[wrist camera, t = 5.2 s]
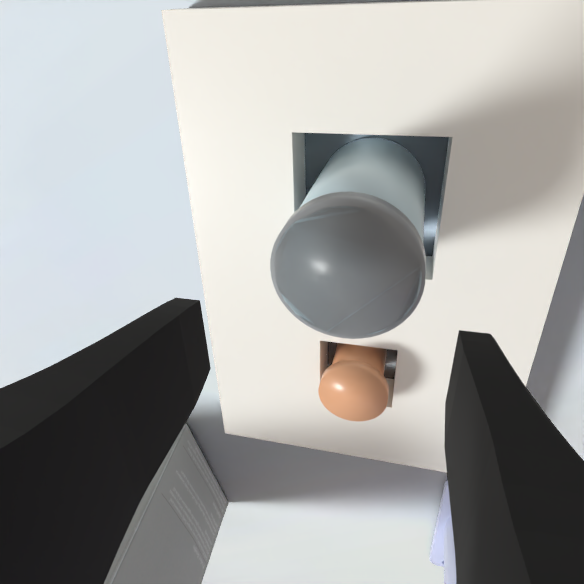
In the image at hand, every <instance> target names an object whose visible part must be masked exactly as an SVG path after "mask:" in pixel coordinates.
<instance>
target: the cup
mask: <svg viewBox="0 0 584 584" xmlns="http://www.w3.org/2000/svg"><path fill="white" fill-rule="evenodd" d="M424 209H425V179H424V175H423V172H422V169H421V167H420V165H419V163H418V161H417V160H416V159H415V157H414V156H413V155H412V154H411V153H410V152H409V151H408V150H407V149H405V148H404V147H403V146H401V145H399V144H397V143H396V142H393V141H390V140H387V139H383V138H363V139H358V140H355V141H352V142H350V143H348V144H346V145H344V146H343V147H341V148H340V149H339V150H337V151H336V152H335V153H334V154H333V155H332V157H331V158H330V159H329V161H328V162H327V164H326V165H325V167H324V168H323V170H322V172H321V173H320V175H319V177H318V178H317V180H316V181H315V183H314V185H313V186H312V188H311V190H310V191H309V193H308V195H307V196H306V198H305V199H304V201H303V203H302V204H301V206H300V208H299V209H297V210H296V211H295V212H294V214H293V215H292V216H291V217H290V218H289V220H288V221H287V222H286V224H285V225H284V227H283V229H282V230H281V232H280V233H279V235H278V237H277V239H276V241H275V243H274V246H273V249H272V253H271V259H270V271H271V278H272V282H273V285H274V288H275V290H276V292H277V295H278V296H279V298H280V300H281V301H282V303H283V304H284V305H285V307H286V308H287V309H288V310H289V311H290V312H291V313H292V314H293V315H294V316H295V317H296V318H297V319H298V320H300V321H301V322H302V323H304V324H305V325H307V326H308V327H310V328H312V329H314V330H316V331H319V332H321V333H324V334H327V335H330V336H334V337H339V338H348V339H362V338H369V337H373V336H377V335H381V334H383V333H386V332H388V331H390V330H392V329H394V328H396V327H397V326H399V325H400V324H401V323H403V322H404V321H405V320H406V319H407V318H408V317H409V316H410V315H411V314H412V313H413V311H414V310H415V309H416V307H417V305H418V304H419V302H420V300H421V297H422V294H423V291H424V286H425V276H426V256H425V249H424V245H423V233H424Z"/></svg>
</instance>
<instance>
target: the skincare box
mask: <svg viewBox="0 0 584 584" xmlns="http://www.w3.org/2000/svg"><path fill="white" fill-rule="evenodd" d="M227 506H228V501H227V499H226V497H225V495H224V493H223V491H222V490H221V488H220V486H219V484H218V482H217V480H216V478H215V476H214V474H213V473H212V471H211V469H210V467H209V465H208V463H207V461H206V459H205V458H204V456H203V454H202V452H201V450H200V448H199V446H198V444H197V442H196V441H195V439H194V437H193V435H192V433H191V431H190V429H189V427H188V425H187V424H185V425H184V426H183V428H182V430H181V432H180V433H179V435H178V437H177V438H176V440H175V442H174V444H173V445H172V447H171V449H170V450H169V452H168V454H167V455H166V457H165V459H164V461H163V462H162V464H161V466H160V467H159V469H158V471H157V473H156V474H155V476H154V478H153V479H152V481H151V483H150V485H149V486H148V488H147V490H146V492H145V494H144V496H143V498H142V499H141V501H140V503H139V505H138V507H137V509H136V512H135V514H134V516H133V518H132V520H131V523H130V525H129V527H128V529H127V531H126V534H125V536H124V538H123V540H122V542H121V544H120V547H119V549H118V551H117V554H116V556H115V558H114V561H113V563H112V565H111V568H110V570H109V573H108V575H107V577H106V580H105V582H104V584H201V582H202V579H203V576H204V573H205V570H206V567H207V565H208V562H209V559H210V556H211V552H212V549H213V546H214V543H215V540H216V537H217V535H218V531H219V528H220V525H221V522H222V520H223V517H224V514H225V511H226V508H227Z"/></svg>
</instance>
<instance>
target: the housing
mask: <svg viewBox="0 0 584 584" xmlns="http://www.w3.org/2000/svg"><path fill="white" fill-rule="evenodd" d="M161 11H162V17H163V24H164V31H165V37H166V44H167V50H168V57H169V64H170V70H171V77H172V84H173V90H174V97H175V104H176V110H177V117H178V124H179V130H180V137H181V144H182V150H183V157H184V164H185V170H186V177H187V184H188V190H189V197H190V204H191V210H192V217H193V224H194V230H195V237H196V244H197V250H198V257H199V264H200V270H201V277H202V284H203V290H204V297H205V304H206V310H207V317H208V324H209V330H210V337H211V344H212V350H213V357H214V364H215V370H216V377H217V384H218V390H219V397H220V404H221V410H222V417H223V424H224V430H225V433H226V434H232V435H238V436H243V437H249V438H255V439H260V440H266V441H271V442H277V443H283V444H288V445H294V446H300V447H305V448H311V449H316V450H322V451H328V452H333V453H339V454H345V455H350V456H356V457H361V458H367V459H373V460H378V461H384V462H390V463H395V464H401V465H406V466H412V467H418V468H423V469H429V470H435V471H440V472H446V473H447V468H446V458H445V447H444V444H445V402H446V397H447V391H448V386H449V381H450V375H451V370H452V365H453V359H454V354H455V349H456V343H457V338H458V333H459V330H462V331H471V332H480V333H489V334H491V335H492V336H493V337H494V339H495V340H496V342H497V343H498V345H499V347H500V348H501V350H502V351H503V353H504V355H505V356H506V358H507V359H508V361H509V363H510V364H511V366H512V367H513V369H514V370H515V372H516V373H517V375H518V376H519V378H520V379H521V381H522V382H523V384H524V385H525V387H526V384H527V380H528V377H529V374H530V370H531V367H532V364H533V360H534V357H535V354H536V351H537V347H538V344H539V341H540V337H541V334H542V331H543V327H544V324H545V321H546V317H547V314H548V311H549V307H550V304H551V301H552V297H553V294H554V291H555V287H556V284H557V281H558V277H559V274H560V271H561V267H562V264H563V261H564V257H565V254H566V251H567V248H568V244H569V241H570V238H571V234H572V231H573V228H574V224H575V221H576V218H577V214H578V211H579V208H580V204H581V201H582V198H583V194H584V0H434V1H402V2H370V3H339V4H307V5H275V6H243V7H212V8H184V9H171V10H161ZM305 133H331V134H366V135H400V136H435V137H449V140H448V148H447V155H446V162H445V169H444V176H443V184H442V191H441V198H440V205H439V213H438V220H437V227H436V234H435V242H434V249H433V256H426V276H425V286H424V291H423V294H422V297H421V300H420V302H419V304H418V305H417V307H416V309H415V310H414V311H413V313H412V314H411V315H410V316H409V317H408V318H407V319H406V320H405V321H404V322H403V323H401V324H400V325H399V326H397V327H396V328H394V329H392V330H390V331H388V332H386V333H383V334H381V335H377V336H373V337H369V338H362V339H348V338H339V337H334V336H330V335H327V334H324V333H321V332H319V331H316V330H314V329H312V328H310V327H308V326H307V325H305V324H304V323H302V322H301V321H300V320H298V319H297V318H296V317H295V316H294V315H293V314H292V313H291V312H290V311H289V310H288V309H287V308H286V307H285V305H284V304H283V303H282V301H281V300H280V298H279V296H278V295H277V292H276V290H275V288H274V285H273V282H272V278H271V271H270V259H271V253H272V249H273V246H274V243H275V241H276V239H277V237H278V235H279V233H280V232H281V230H282V229H283V227H284V225H285V224H286V222H287V221H288V220H289V218H290V217H291V216H292V215H293V214H294V212H295V211H296V210H297V209H299V208H300V206H301V204H302V203H303V201H304V199H305V198H306V181H305ZM328 342H336V343H344V344H352V345H360V346H368V347H376V348H383V349H391V350H398V352H397V362H396V371H395V379H390V378H386V380H387V383H388V386H389V395H388V403H387V406H386V409H385V410H384V411H383V413H382V414H380V415H379V416H378V417H376V418H374V419H371V420H368V421H350V420H345V419H342V418H340V417H338V416H336V415H334V414H332V413H331V412H330V411H329V410H327V409H326V408H325V406H324V405H323V404H322V402H321V400H320V398H319V393H318V389H319V384H320V381H321V378H322V375H323V373H324V371H325V370H326V369H327V368H328Z"/></svg>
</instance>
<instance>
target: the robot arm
mask: <svg viewBox="0 0 584 584" xmlns="http://www.w3.org/2000/svg"><path fill="white" fill-rule="evenodd" d="M209 371H210V362H209V356H208V350H207V343H206V337H205V330H204V324H203V318H202V311H201V305H200V301H199V300H191V299H182V298H175V299H172V300H170V301H168V302H166V303H164V304H162V305H161V306H159V307H157V308H155V309H153V310H152V311H150V312H148V313H146V314H145V315H143V316H141V317H140V318H138V319H136V320H134V321H133V322H131V323H129V324H127V325H126V326H124V327H122V328H120V329H119V330H117V331H115V332H114V333H112V334H110V335H108V336H107V337H105V338H103V339H101V340H99V341H98V342H96V343H94V344H92V345H90V346H88V347H86V348H84V349H83V350H81V351H79V352H77V353H75V354H73V355H71V356H69V357H67V358H65V359H64V360H62V361H60V362H58V363H56V364H54V365H52V366H50V367H48V368H46V369H44V370H41V371H39V372H37V373H35V374H33V375H31V376H28V377H26V378H24V379H21V380H19V381H17V382H15V383H12V384H10V385H8V386H5V387H3V388H0V584H104V582H105V580H106V577H107V575H108V573H109V570H110V568H111V565H112V563H113V561H114V558H115V556H116V554H117V551H118V549H119V547H120V544H121V542H122V540H123V538H124V536H125V534H126V531H127V529H128V527H129V525H130V523H131V520H132V518H133V516H134V514H135V512H136V509H137V507H138V505H139V503H140V501H141V499H142V498H143V496H144V494H145V492H146V490H147V488H148V486H149V485H150V483H151V481H152V479H153V478H154V476H155V474H156V473H157V471H158V469H159V467H160V466H161V464H162V462H163V461H164V459H165V457H166V455H167V454H168V452H169V450H170V449H171V447H172V445H173V444H174V442H175V440H176V438H177V437H178V435H179V433H180V432H181V430H182V428H183V426H184V425H185V423H186V421H187V419H188V418H189V416H190V414H191V412H192V411H193V409H194V407H195V405H196V403H197V400H198V398H199V396H200V393H201V391H202V389H203V386H204V384H205V381H206V379H207V376H208V373H209ZM444 447H445V458H446V468H447V478H448V480H447V481H446V482H445V485H444V489H443V494H442V499H441V503H440V508H439V513H438V518H437V522H436V527H435V532H434V536H433V541H432V546H431V550H430V561H431V562H432V563H433V564H435V565H438V566H443V567H444V584H584V461H583V459H582V458H581V457H580V456H579V455H578V454H577V453H576V451H575V450H574V449H573V448H572V447H571V445H570V444H569V443H568V442H567V440H566V439H565V438H564V437H563V436H562V434H561V433H560V432H559V431H558V430H557V428H556V427H555V426H554V424H553V423H552V422H551V421H550V419H549V418H548V417H547V415H546V414H545V413H544V411H543V410H542V409H541V407H540V406H539V405H538V403H537V402H536V400H535V399H534V398H533V396H532V395H531V394H530V392H529V391H528V389H527V388H526V387H525V385H524V384H523V382H522V381H521V379H520V378H519V376H518V375H517V373H516V372H515V370H514V369H513V367H512V366H511V364H510V363H509V361H508V359H507V358H506V356H505V355H504V353H503V351H502V350H501V348H500V347H499V345H498V343H497V342H496V340H495V339H494V337H493V336H492V335H491V334H489V333H480V332H471V331H462V330H459V333H458V338H457V343H456V349H455V354H454V359H453V365H452V370H451V375H450V381H449V386H448V391H447V397H446V402H445V444H444Z"/></svg>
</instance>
